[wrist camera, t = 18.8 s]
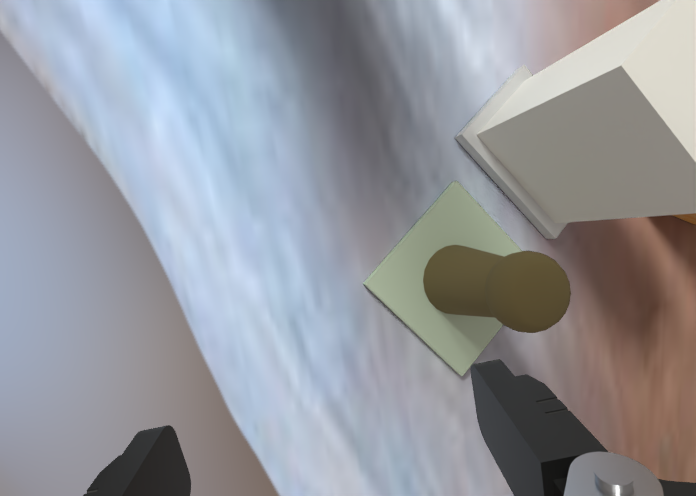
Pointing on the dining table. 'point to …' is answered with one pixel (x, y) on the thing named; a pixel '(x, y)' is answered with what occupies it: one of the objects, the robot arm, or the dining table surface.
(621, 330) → the dining table surface
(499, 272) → the cork
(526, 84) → the housing
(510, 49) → the dining table surface
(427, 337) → the plate
